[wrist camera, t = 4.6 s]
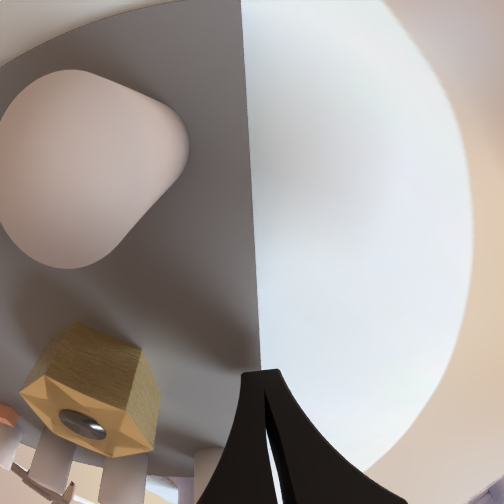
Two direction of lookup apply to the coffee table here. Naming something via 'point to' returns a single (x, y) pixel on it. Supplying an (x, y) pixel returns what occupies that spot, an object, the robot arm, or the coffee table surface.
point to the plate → (131, 228)
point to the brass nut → (95, 392)
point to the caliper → (59, 501)
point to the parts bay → (8, 415)
